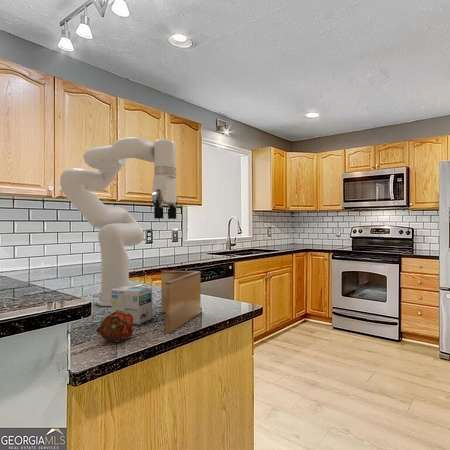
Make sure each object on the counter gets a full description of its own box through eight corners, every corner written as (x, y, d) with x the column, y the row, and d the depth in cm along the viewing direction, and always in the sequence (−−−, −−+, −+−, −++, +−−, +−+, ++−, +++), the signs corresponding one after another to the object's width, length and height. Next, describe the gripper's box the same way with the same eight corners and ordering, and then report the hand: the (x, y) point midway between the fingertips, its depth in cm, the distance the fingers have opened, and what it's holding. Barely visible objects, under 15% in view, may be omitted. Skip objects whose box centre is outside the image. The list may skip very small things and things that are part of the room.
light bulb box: (153, 318, 108) (153, 286, 107) (139, 325, 101) (139, 290, 101) (125, 316, 110) (125, 285, 110) (110, 322, 103) (109, 289, 103)
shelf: (125, 330, 96) (124, 280, 96) (163, 311, 116) (163, 270, 116) (170, 332, 94) (169, 282, 94) (201, 313, 114) (200, 271, 114)
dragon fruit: (120, 353, 83) (109, 346, 92) (147, 327, 88) (134, 323, 97) (96, 330, 80) (87, 326, 89) (126, 305, 86) (115, 303, 94)
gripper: (167, 176, 130) (167, 219, 131) (142, 169, 113) (143, 218, 113) (185, 176, 130) (185, 218, 130) (162, 169, 112) (163, 218, 113)
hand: (165, 218), depth 122 cm, fingers open, 9 cm apart
